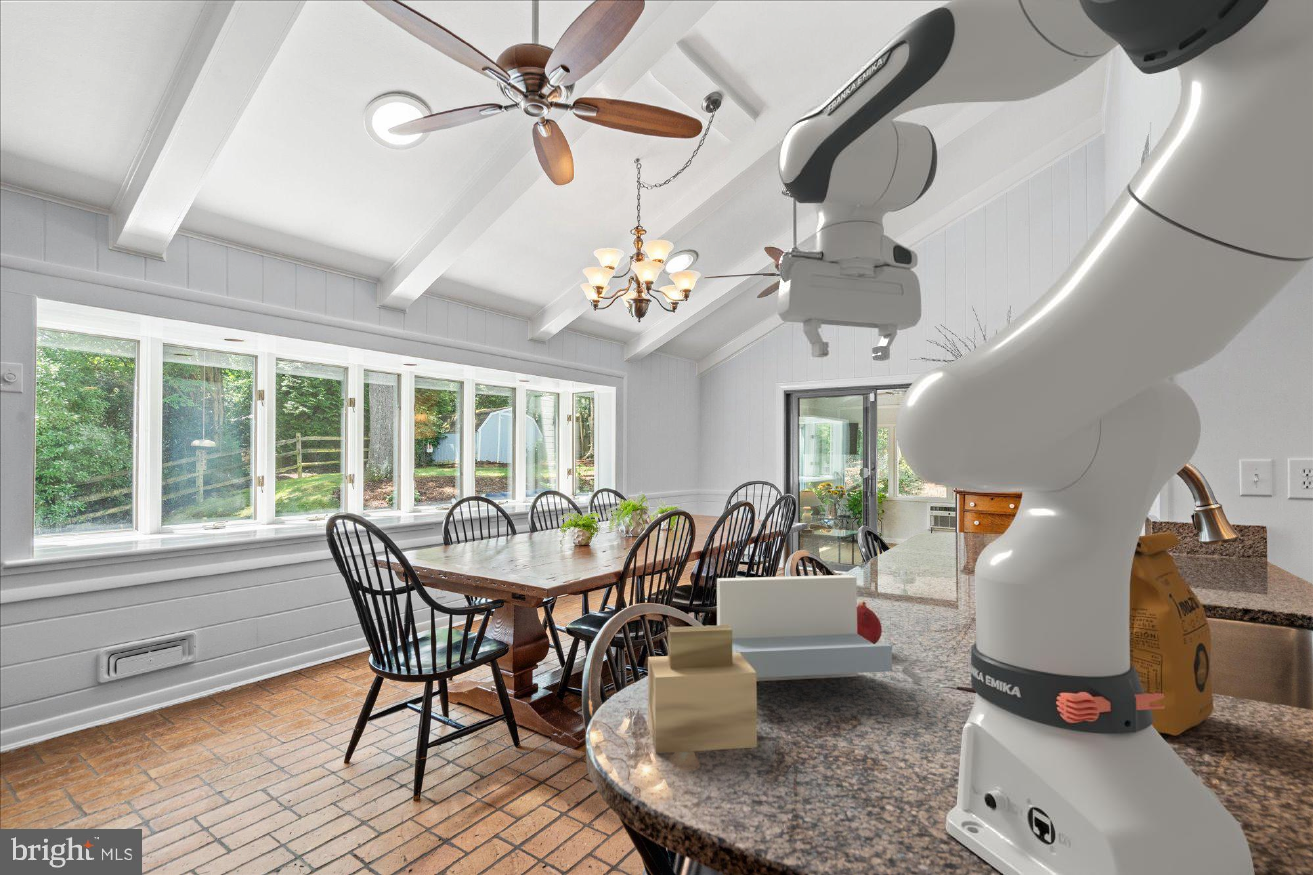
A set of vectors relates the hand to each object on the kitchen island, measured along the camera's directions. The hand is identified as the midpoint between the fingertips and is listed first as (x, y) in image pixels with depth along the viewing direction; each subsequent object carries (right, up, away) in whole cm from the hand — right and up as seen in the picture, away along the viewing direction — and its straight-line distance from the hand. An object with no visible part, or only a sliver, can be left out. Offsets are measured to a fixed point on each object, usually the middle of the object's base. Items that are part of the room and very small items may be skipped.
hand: (851, 358), depth 83 cm
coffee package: (+33, -44, -9) cm, 56 cm away
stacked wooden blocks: (-21, -44, -13) cm, 50 cm away
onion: (+8, -45, +18) cm, 49 cm away
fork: (+16, -45, +1) cm, 48 cm away
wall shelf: (-6, -44, +1) cm, 45 cm away
